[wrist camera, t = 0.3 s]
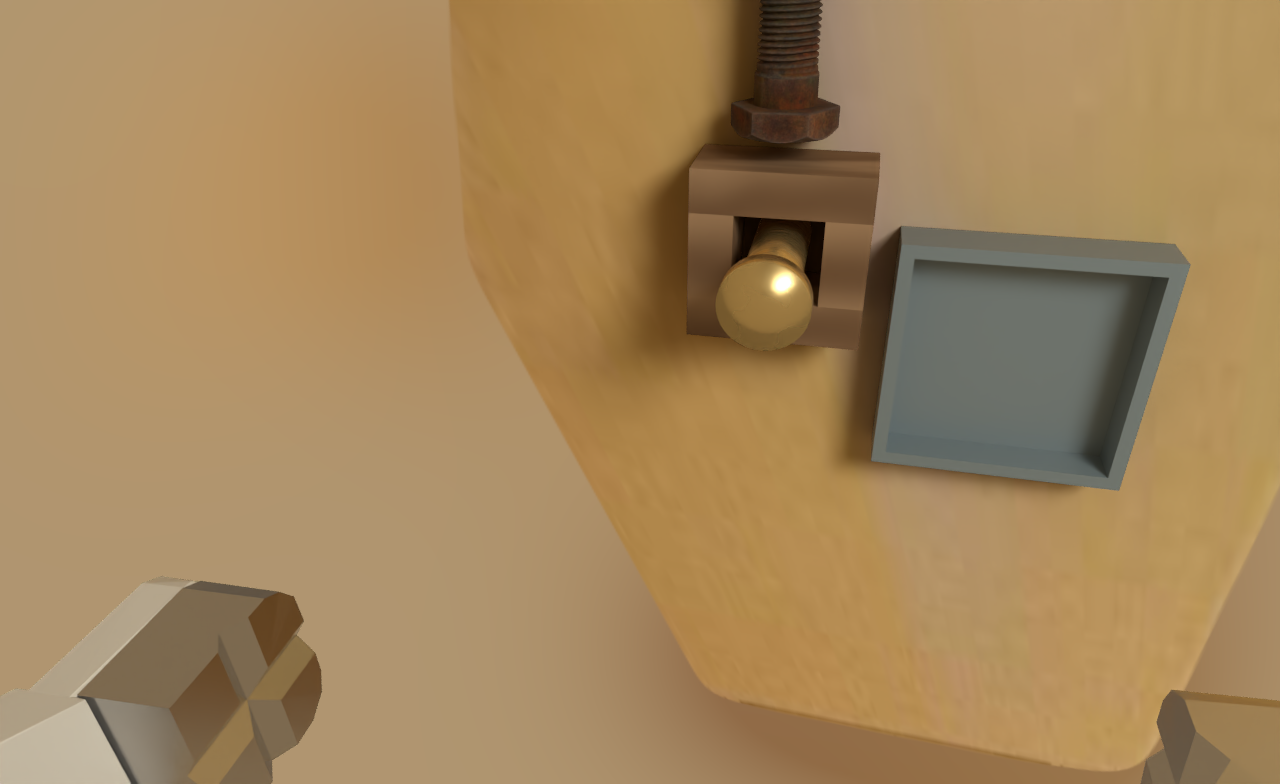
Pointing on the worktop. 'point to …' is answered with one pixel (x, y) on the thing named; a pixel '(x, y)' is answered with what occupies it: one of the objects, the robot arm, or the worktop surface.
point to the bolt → (787, 79)
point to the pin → (768, 288)
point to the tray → (1022, 353)
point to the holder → (792, 191)
